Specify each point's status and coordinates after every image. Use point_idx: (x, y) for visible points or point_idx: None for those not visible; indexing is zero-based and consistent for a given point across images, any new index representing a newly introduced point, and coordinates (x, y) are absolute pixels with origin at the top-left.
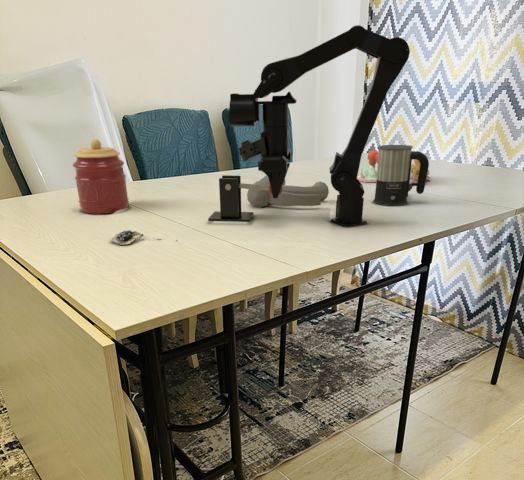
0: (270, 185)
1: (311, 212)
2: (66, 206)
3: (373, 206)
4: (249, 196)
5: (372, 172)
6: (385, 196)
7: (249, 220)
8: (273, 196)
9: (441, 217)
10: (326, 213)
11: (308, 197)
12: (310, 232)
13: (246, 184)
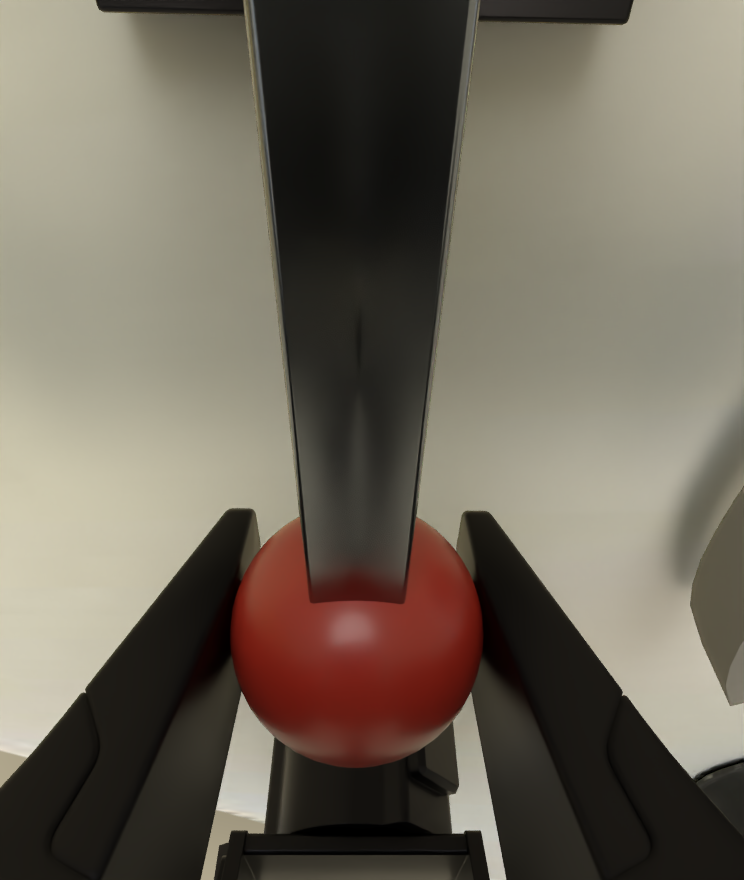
0: (92, 680)
1: (666, 549)
2: None
3: (715, 745)
4: None
5: None
6: (735, 817)
7: (149, 11)
8: (219, 528)
9: (462, 833)
10: (608, 612)
11: (722, 643)
12: (69, 551)
13: (259, 31)
